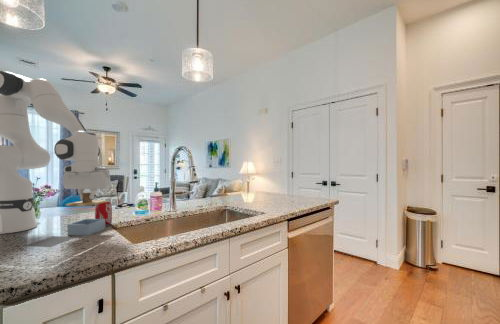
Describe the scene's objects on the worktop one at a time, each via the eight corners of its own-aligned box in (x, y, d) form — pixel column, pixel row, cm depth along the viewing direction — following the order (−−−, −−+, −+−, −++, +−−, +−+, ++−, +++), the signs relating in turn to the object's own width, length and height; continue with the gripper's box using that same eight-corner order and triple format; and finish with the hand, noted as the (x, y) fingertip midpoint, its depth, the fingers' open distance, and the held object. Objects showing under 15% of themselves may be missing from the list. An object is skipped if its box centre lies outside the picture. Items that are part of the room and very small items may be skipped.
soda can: (103, 227, 110) (103, 202, 110) (91, 226, 112) (91, 202, 112) (115, 223, 117) (115, 200, 117) (103, 223, 119) (103, 199, 119)
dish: (67, 236, 97) (67, 224, 97) (85, 229, 107) (85, 218, 107) (88, 236, 96) (88, 224, 96) (105, 230, 106) (105, 219, 106)
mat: (24, 247, 85) (24, 245, 85) (52, 237, 96) (52, 236, 96) (51, 248, 84) (51, 246, 84) (76, 238, 95) (76, 236, 95)
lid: (65, 205, 97) (65, 194, 97) (85, 201, 107) (85, 191, 107) (88, 206, 96) (88, 194, 96) (106, 201, 106) (106, 191, 106)
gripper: (113, 167, 104) (114, 198, 104) (72, 167, 106) (72, 197, 106) (103, 167, 98) (104, 200, 98) (59, 168, 100) (59, 200, 100)
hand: (87, 199), depth 102 cm, fingers closed on lid, 2 cm apart
